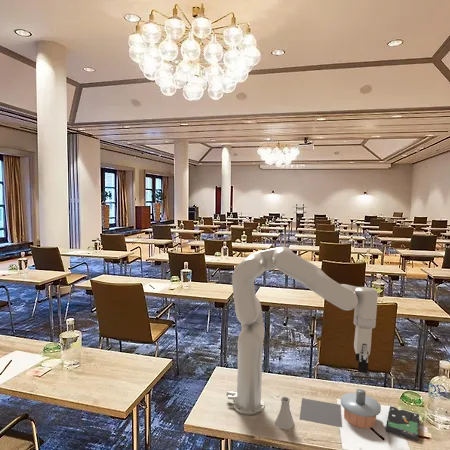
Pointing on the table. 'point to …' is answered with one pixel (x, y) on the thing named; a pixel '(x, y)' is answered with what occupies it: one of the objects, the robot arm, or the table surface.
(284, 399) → the flask
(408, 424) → the disk drive
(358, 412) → the lid
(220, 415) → the table surface
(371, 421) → the bowl
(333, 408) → the mat
